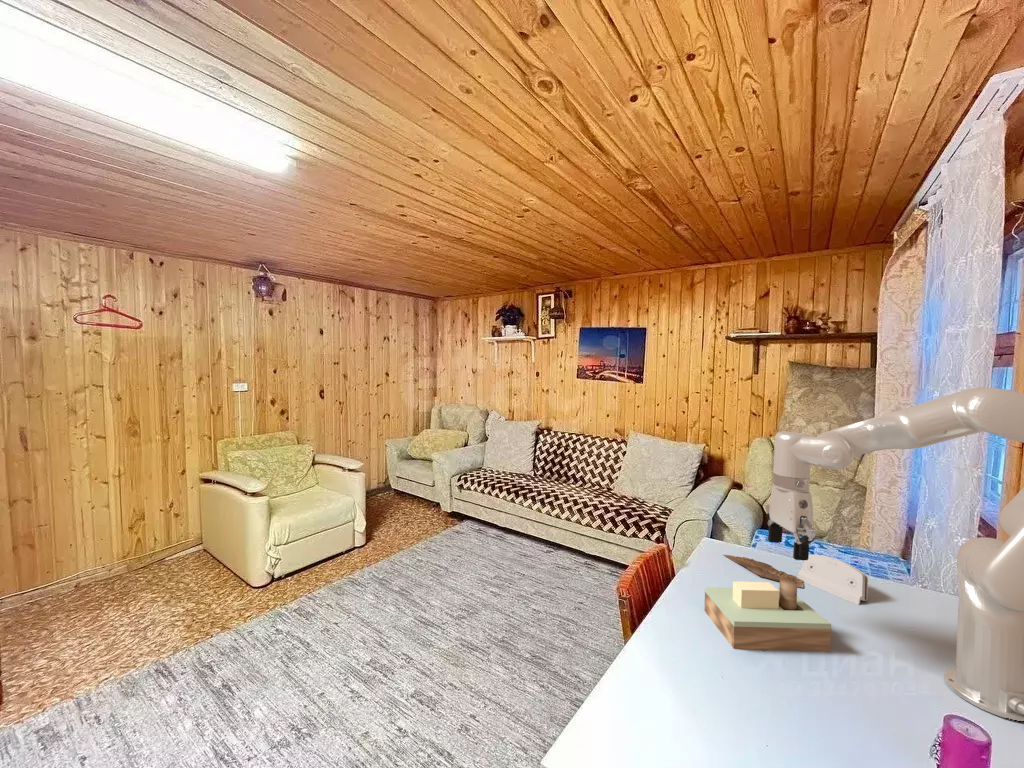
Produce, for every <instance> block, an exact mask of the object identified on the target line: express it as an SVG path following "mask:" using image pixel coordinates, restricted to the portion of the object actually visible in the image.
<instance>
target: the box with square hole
mask: <svg viewBox="0 0 1024 768" xmlns="http://www.w3.org/2000/svg"><path fill="white" fill-rule="evenodd" d="M703 611H704V612H705V613H706V615H707V616H708V617H709V619H710V620H711V622H712V623H713V624H714V625H715V627H716V628H717V629H718V630H719V632H720V634H721V635H722V636H723V637H724V638H725V640H727V642H728V644H729V645H730V646H731V648H732V649H733V650H735V649H738V650H764V651H766V650H767V651H768V650H769V651H771V650H772V651H773V650H774V651H807V652H808V651H809V652H810V651H811V652H814V651H815V652H831V633H832V628H831V629H816V628H776V627H735V626H733V624H732V623H731V622H730V621H729V620H728V618H727V617H726V616H725V615H724V614H723V613H722V611H721V610H720V609H719V608H718V607H717V605H716V604H715V603H714V602H713V601H712V599H711V598H710V597H709V596H708V595H707V593H706V592H705V591H704V609H703ZM796 611H799V610H798V609H796Z"/></svg>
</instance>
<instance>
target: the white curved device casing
mask: <svg viewBox="0 0 1024 768" xmlns="http://www.w3.org/2000/svg"><path fill="white" fill-rule="evenodd" d="M796 577H797V578H799V579H800V580H803V583H804V584H807V585H808V586H809V585H810V586H812V587H814V588H817V589H819V590H821V591H824V592H826V593H829V594H831V595H833V596H835V597H839V598H841V599H843V600H845V601H848V602H851V603H852V604H855V605H858V606H860V604H861V601H863V602H868V593H869V589H868V588H869V587H868V586H869V577H868V576H867V574H866V573H865V572H863V571H861V570H860V569H859V568H858V567H856V566H854V565H851V564H850V563H848V562H845V561H843V560H840V559H837V558H835V557H831V556H827V555H822V554H809V557H808V560H803V563H802V565H801V568H800V570H799V572H798V573H797V576H796Z"/></svg>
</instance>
